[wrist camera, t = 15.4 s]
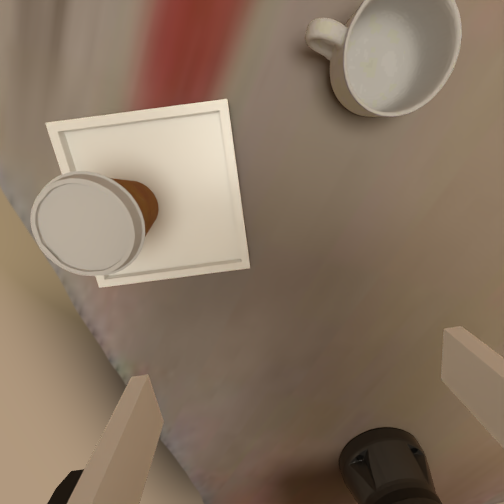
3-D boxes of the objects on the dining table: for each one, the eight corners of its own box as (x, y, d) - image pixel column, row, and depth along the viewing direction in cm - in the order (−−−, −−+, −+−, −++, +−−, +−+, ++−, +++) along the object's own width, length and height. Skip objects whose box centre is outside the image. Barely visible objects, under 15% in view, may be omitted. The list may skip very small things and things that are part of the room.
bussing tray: (249, 261, 40) (250, 268, 38) (107, 279, 40) (99, 287, 38) (228, 102, 34) (227, 98, 31) (58, 125, 34) (45, 122, 31)
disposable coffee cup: (84, 169, 34) (7, 176, 23) (164, 163, 34) (127, 167, 23) (103, 245, 37) (43, 285, 26) (177, 239, 37) (149, 276, 26)
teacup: (431, 46, 33) (489, 13, 25) (380, 139, 36) (418, 135, 28) (325, -20, 30) (353, -78, 23) (280, 86, 33) (291, 65, 26)
